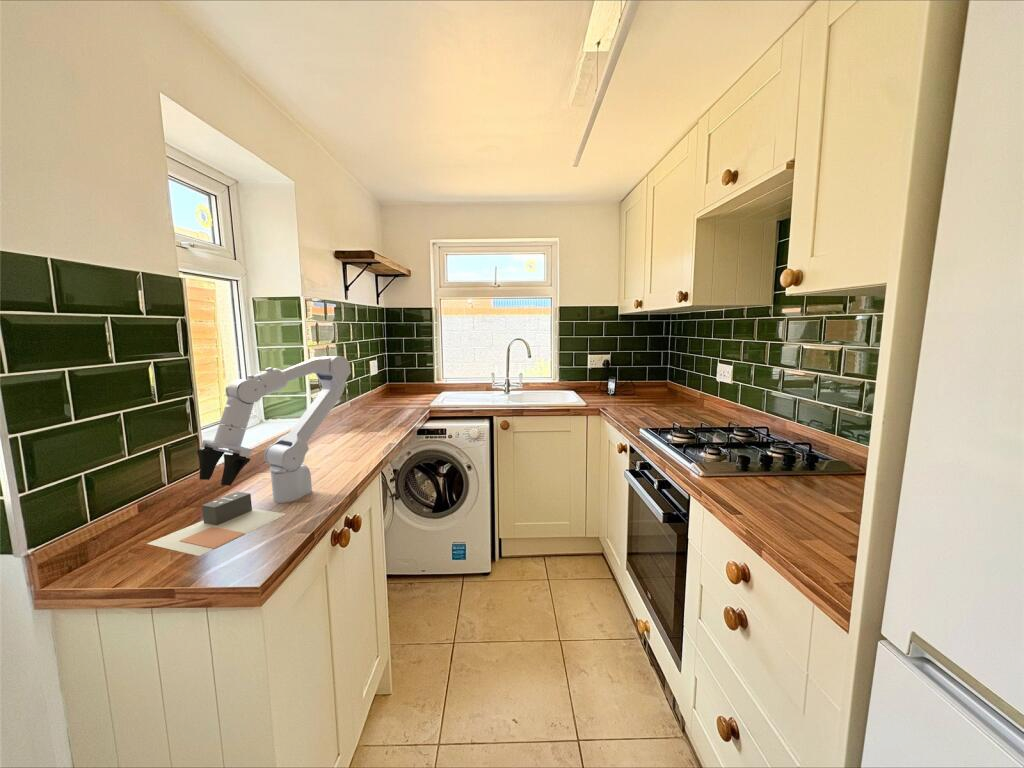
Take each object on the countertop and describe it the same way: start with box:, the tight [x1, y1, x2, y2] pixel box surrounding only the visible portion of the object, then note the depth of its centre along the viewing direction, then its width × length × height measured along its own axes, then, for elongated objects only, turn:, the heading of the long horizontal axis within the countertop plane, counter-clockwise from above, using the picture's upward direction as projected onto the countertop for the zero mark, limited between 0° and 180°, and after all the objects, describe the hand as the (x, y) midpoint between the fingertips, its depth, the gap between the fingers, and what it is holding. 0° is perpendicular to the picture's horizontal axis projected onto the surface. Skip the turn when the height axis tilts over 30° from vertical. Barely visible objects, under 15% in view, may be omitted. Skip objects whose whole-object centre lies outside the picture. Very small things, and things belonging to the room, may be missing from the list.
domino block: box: [201, 491, 253, 525], centre depth 104 cm, size 9×5×5 cm, turn 160°
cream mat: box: [146, 507, 287, 557], centre depth 98 cm, size 21×17×1 cm
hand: (215, 482), depth 101 cm, fingers open, 7 cm apart
